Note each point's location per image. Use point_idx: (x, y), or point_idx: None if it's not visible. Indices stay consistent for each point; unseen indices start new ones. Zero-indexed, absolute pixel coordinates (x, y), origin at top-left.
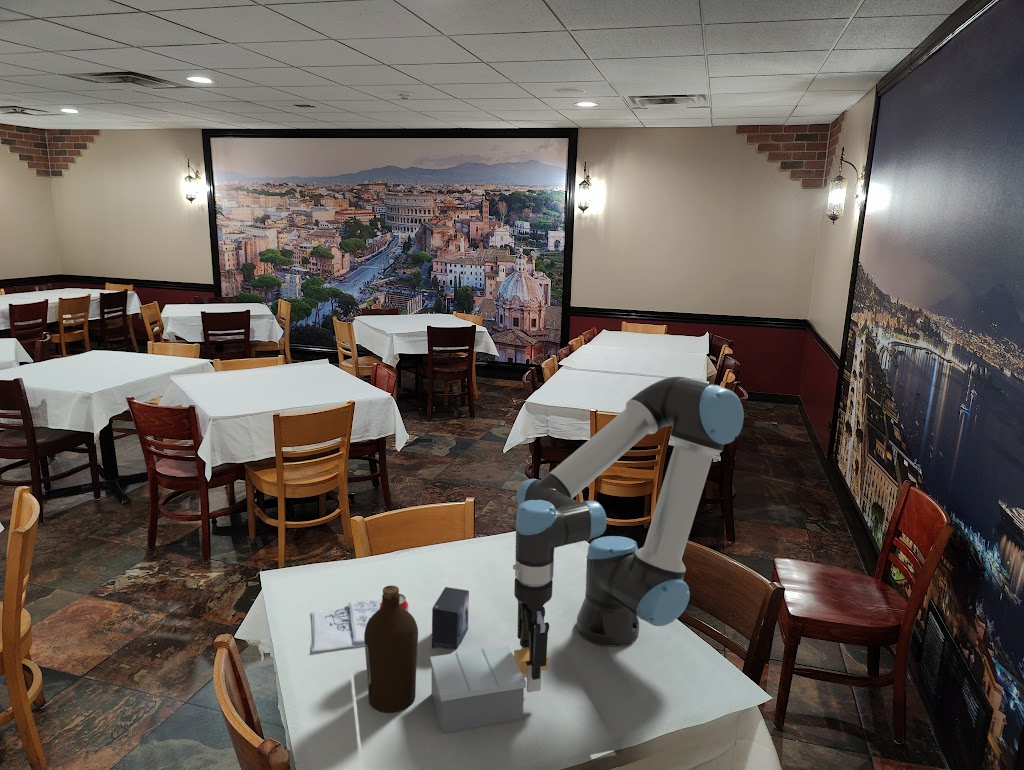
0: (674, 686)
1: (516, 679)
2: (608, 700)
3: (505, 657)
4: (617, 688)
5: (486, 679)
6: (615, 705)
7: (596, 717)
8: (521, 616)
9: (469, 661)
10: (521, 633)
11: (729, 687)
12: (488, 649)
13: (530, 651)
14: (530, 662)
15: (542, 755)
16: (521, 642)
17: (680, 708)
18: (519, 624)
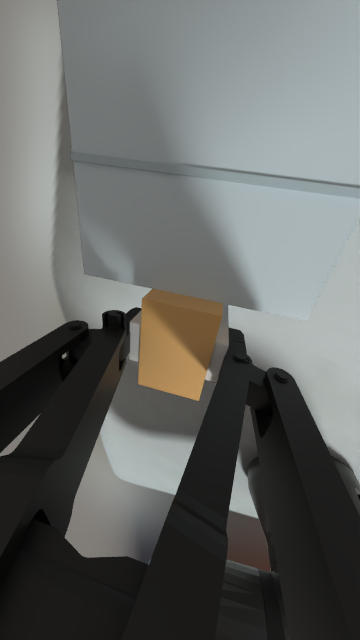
0: (150, 449)
1: (100, 250)
2: (152, 389)
3: (238, 274)
4: (170, 410)
5: (126, 109)
6: (141, 389)
7: (126, 358)
8: (185, 580)
9: (321, 43)
10: (236, 397)
11: (133, 473)
12: (344, 226)
13: (94, 353)
14: (110, 326)
15: (65, 244)
16: (231, 362)
17: (116, 431)
18: (287, 438)
